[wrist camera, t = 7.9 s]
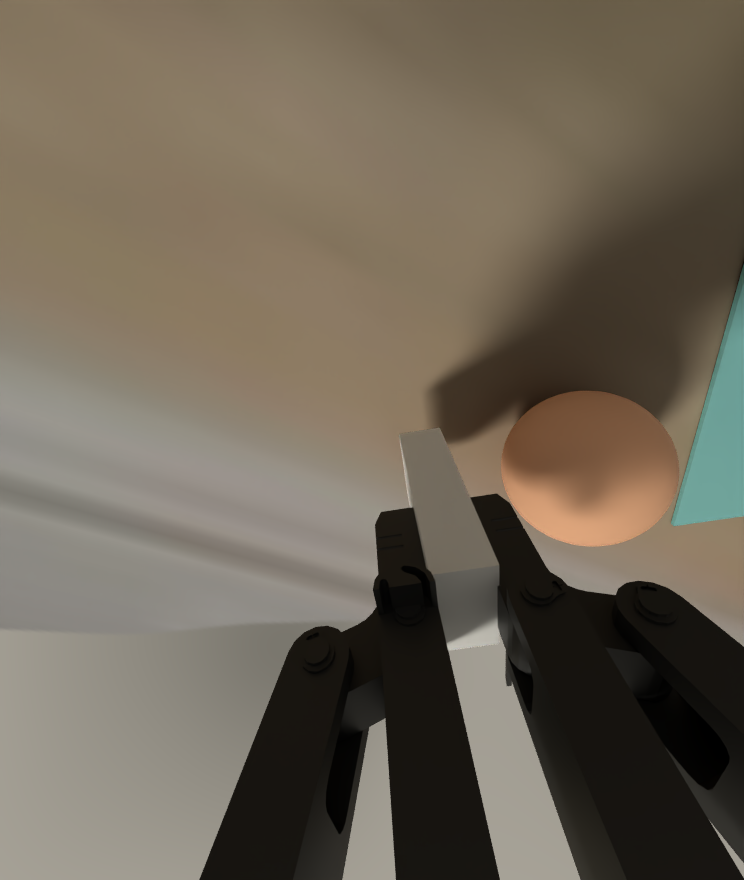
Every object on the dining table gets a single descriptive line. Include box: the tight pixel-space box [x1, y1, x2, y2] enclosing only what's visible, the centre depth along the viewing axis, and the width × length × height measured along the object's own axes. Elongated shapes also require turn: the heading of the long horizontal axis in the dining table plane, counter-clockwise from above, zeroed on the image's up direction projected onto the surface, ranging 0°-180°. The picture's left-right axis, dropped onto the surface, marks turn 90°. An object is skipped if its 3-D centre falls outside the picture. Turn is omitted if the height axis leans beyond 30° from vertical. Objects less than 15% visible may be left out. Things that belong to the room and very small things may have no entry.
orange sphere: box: [501, 391, 679, 546], centre depth 14 cm, size 6×6×6 cm
